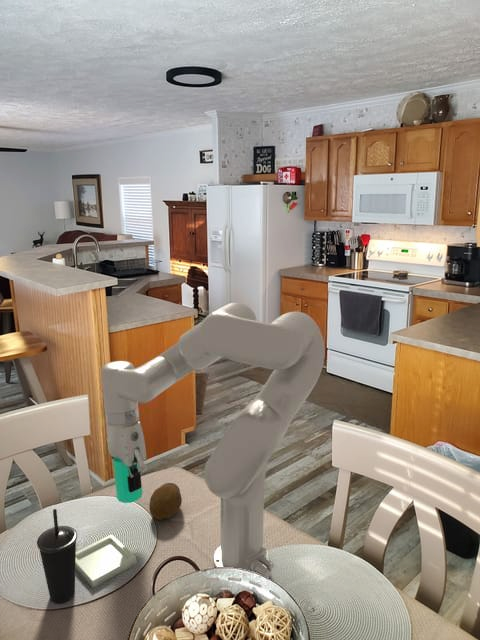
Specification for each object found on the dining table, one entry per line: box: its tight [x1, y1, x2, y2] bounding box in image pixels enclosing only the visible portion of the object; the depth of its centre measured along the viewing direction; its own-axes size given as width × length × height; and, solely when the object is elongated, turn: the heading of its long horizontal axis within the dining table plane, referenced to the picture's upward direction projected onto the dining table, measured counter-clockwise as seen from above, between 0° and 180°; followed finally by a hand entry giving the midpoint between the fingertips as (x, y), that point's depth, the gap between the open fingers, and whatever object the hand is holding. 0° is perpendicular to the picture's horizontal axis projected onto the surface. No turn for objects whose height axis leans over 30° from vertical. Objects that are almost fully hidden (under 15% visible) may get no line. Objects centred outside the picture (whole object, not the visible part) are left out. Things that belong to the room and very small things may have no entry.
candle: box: [112, 457, 143, 504], centre depth 121 cm, size 6×6×12 cm
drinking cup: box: [36, 508, 78, 605], centre depth 103 cm, size 8×8×20 cm
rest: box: [75, 534, 137, 589], centre depth 114 cm, size 11×11×2 cm
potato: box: [149, 482, 183, 520], centre depth 131 cm, size 8×12×8 cm, turn 178°
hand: (128, 484), depth 122 cm, fingers closed on candle, 4 cm apart
